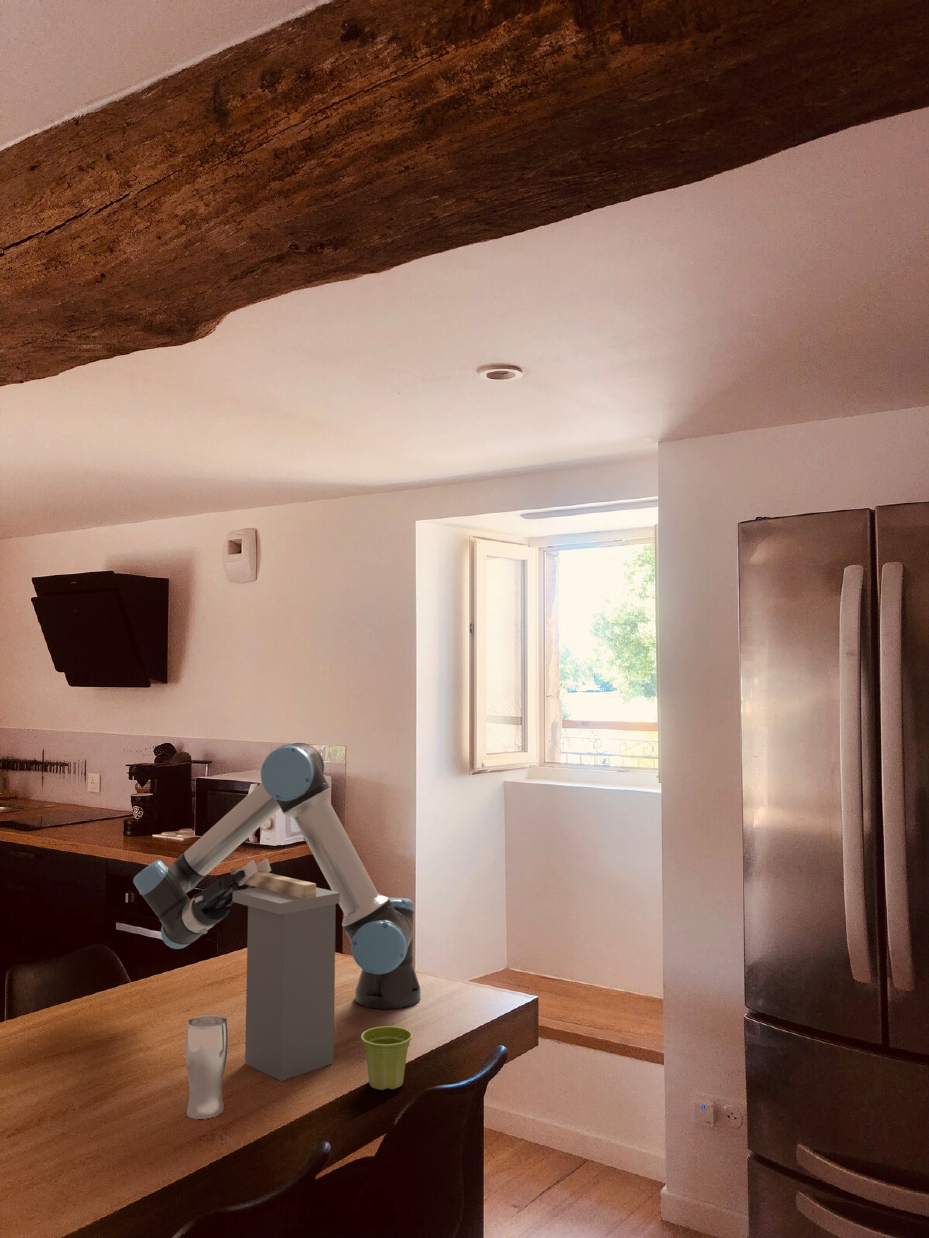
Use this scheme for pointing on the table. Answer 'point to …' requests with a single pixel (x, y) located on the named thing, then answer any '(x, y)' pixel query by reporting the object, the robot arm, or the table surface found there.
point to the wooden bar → (281, 884)
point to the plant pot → (386, 1055)
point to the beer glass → (206, 1064)
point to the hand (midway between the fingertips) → (261, 865)
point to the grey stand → (289, 981)
